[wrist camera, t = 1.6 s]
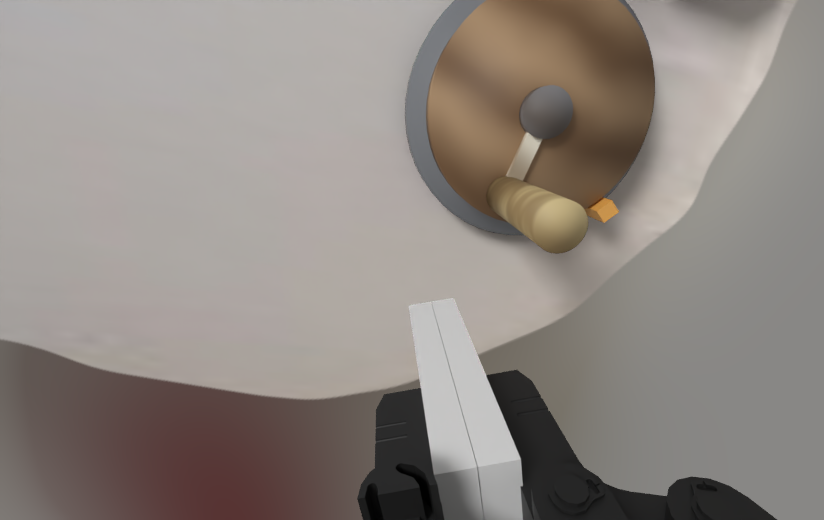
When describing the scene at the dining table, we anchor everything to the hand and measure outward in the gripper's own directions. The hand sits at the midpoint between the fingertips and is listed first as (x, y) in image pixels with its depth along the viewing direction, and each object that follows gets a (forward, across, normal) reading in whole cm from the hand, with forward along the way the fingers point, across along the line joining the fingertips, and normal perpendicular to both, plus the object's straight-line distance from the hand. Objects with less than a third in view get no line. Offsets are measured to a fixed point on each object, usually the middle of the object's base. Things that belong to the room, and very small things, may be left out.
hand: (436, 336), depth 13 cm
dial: (+20, +11, +6) cm, 24 cm away
